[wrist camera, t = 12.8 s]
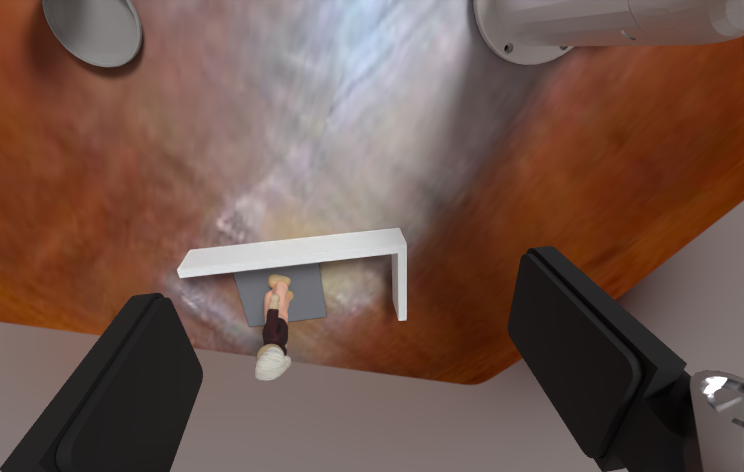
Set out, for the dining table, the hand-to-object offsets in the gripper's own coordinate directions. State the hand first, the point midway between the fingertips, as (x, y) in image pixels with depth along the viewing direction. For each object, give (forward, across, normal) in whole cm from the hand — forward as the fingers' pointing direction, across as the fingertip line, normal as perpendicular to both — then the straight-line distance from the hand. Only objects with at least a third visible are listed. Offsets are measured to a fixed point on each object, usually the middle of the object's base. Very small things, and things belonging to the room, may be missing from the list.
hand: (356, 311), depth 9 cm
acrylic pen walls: (+28, +6, +18) cm, 34 cm away
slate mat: (+28, +9, +20) cm, 35 cm away
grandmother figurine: (+28, +9, +20) cm, 35 cm away
